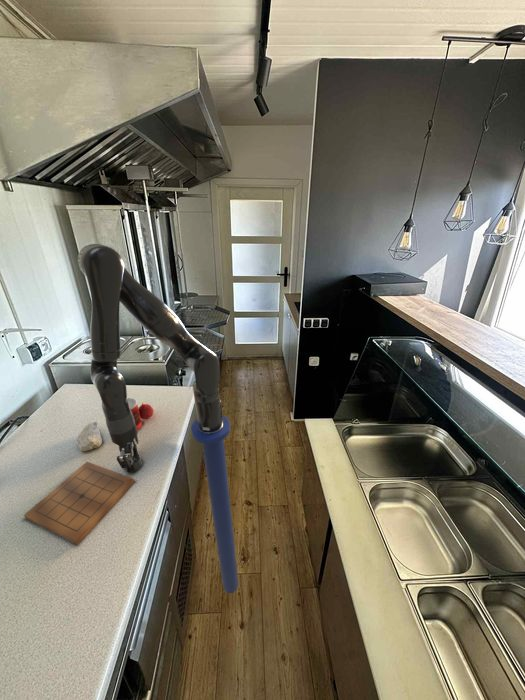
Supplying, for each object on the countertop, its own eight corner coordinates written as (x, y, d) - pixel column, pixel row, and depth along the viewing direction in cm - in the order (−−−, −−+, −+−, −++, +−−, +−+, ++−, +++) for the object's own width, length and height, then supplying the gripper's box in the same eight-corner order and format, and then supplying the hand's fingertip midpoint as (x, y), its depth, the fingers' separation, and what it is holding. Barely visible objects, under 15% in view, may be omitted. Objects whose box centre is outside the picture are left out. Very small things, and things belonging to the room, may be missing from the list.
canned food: (127, 419, 117) (121, 397, 112) (146, 420, 116) (140, 398, 111) (117, 432, 110) (109, 409, 105) (136, 433, 109) (130, 410, 104)
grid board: (88, 464, 96) (86, 461, 95) (134, 482, 90) (133, 478, 89) (25, 518, 79) (23, 515, 79) (77, 545, 73) (75, 541, 72)
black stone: (133, 458, 98) (131, 451, 97) (145, 462, 97) (143, 455, 95) (122, 469, 94) (120, 462, 93) (134, 473, 92) (132, 466, 91)
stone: (80, 459, 103) (73, 449, 95) (78, 428, 109) (71, 416, 101) (104, 452, 106) (98, 442, 98) (101, 422, 112) (95, 410, 104)
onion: (157, 415, 119) (153, 399, 115) (150, 424, 114) (146, 408, 110) (144, 413, 120) (140, 398, 116) (136, 422, 114) (132, 406, 111)
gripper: (128, 440, 82) (140, 481, 89) (139, 409, 95) (149, 447, 102) (100, 443, 81) (115, 484, 88) (115, 411, 94) (127, 450, 101)
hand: (133, 464), depth 95 cm, fingers closed on black stone, 5 cm apart
